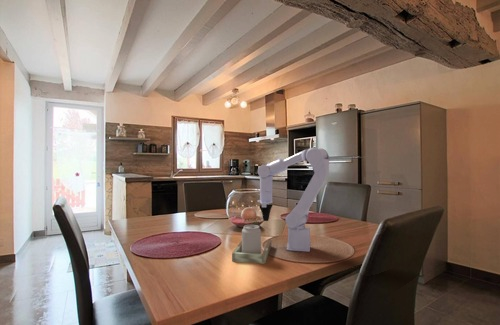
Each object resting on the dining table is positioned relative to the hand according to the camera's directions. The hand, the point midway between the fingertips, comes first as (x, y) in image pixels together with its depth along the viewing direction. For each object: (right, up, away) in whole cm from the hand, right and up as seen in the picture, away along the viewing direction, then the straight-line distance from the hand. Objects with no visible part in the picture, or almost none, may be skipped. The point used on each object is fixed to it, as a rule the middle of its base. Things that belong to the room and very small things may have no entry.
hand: (266, 220), depth 122 cm
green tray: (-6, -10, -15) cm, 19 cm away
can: (-7, -10, -19) cm, 23 cm away
